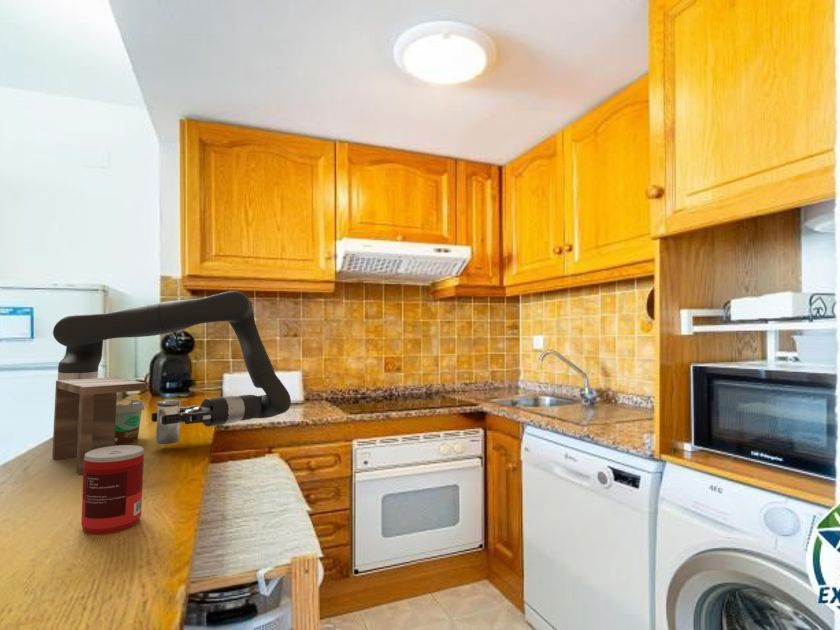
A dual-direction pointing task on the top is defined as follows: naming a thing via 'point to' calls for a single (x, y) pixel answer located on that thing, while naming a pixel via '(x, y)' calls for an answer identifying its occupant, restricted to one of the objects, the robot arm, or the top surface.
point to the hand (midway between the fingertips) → (157, 418)
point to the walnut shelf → (86, 415)
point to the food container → (128, 421)
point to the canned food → (112, 488)
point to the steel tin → (169, 431)
